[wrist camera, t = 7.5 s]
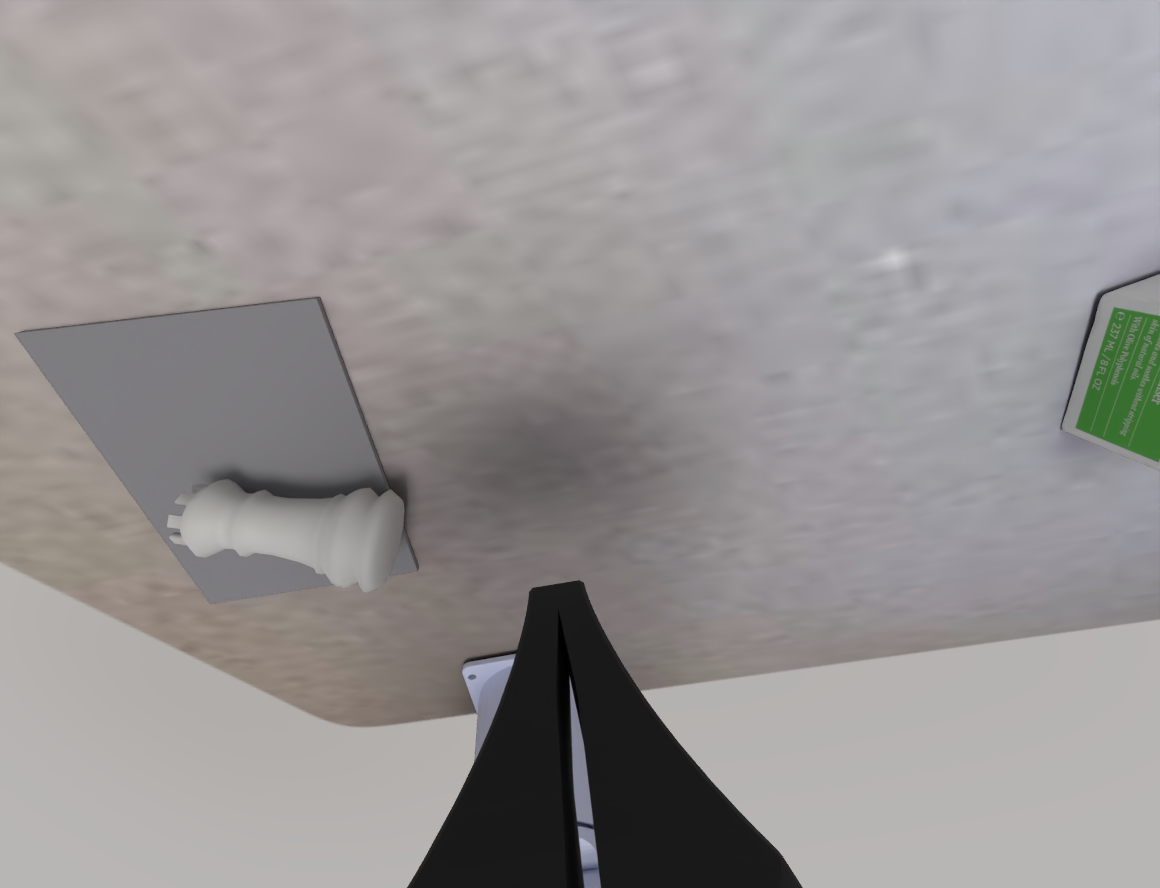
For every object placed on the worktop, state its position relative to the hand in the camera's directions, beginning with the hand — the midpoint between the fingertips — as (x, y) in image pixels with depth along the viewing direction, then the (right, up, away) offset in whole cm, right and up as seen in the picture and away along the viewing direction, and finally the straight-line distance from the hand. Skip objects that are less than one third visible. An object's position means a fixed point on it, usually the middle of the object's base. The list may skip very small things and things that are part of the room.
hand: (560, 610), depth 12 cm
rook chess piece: (-8, 0, +8) cm, 11 cm away
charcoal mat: (-14, +3, +8) cm, 16 cm away
